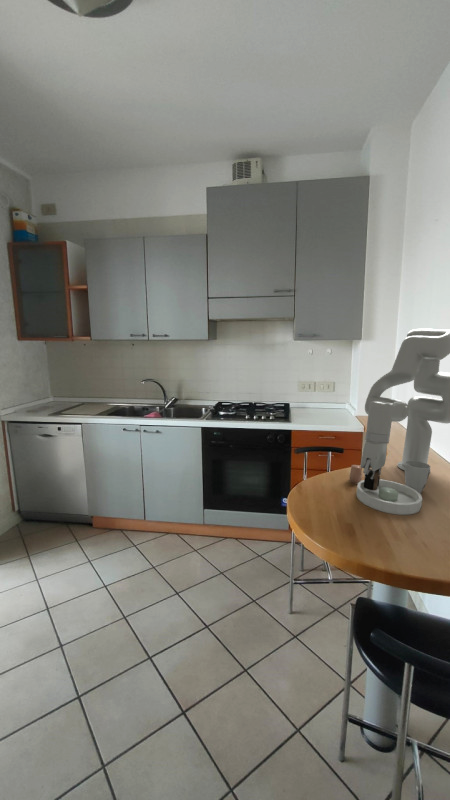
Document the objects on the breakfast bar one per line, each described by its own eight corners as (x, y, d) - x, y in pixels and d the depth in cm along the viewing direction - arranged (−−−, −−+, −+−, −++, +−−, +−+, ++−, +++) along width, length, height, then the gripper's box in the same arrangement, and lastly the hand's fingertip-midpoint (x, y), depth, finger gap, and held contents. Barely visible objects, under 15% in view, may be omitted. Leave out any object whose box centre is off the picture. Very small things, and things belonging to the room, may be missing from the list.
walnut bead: (367, 484, 129) (369, 468, 128) (378, 488, 126) (381, 472, 125) (362, 487, 126) (364, 471, 125) (374, 491, 124) (376, 475, 122)
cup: (429, 496, 128) (433, 469, 126) (405, 493, 129) (409, 466, 127) (422, 487, 135) (426, 461, 134) (399, 484, 137) (402, 459, 135)
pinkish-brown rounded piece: (352, 478, 141) (354, 464, 140) (362, 481, 138) (364, 466, 137) (347, 481, 138) (349, 466, 137) (357, 484, 135) (359, 469, 134)
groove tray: (371, 483, 136) (372, 474, 136) (428, 502, 122) (430, 492, 122) (346, 498, 123) (347, 488, 122) (407, 521, 109) (409, 510, 108)
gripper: (376, 430, 131) (370, 477, 135) (355, 438, 120) (349, 489, 123) (397, 435, 126) (391, 484, 129) (378, 443, 115) (371, 497, 118)
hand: (371, 486), depth 126 cm, fingers closed on walnut bead, 3 cm apart
